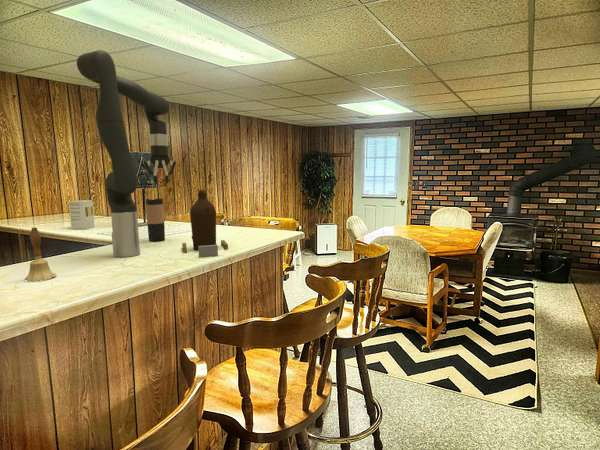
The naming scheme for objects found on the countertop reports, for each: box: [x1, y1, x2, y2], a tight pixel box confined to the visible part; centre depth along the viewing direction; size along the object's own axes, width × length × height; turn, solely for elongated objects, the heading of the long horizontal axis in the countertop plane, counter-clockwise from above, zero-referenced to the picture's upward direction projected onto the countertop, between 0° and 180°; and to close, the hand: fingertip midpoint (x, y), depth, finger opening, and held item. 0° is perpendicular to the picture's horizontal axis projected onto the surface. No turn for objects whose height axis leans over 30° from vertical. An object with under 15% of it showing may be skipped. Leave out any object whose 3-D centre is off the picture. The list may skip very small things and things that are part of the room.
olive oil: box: [189, 189, 217, 251], centre depth 158 cm, size 11×11×25 cm
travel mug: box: [145, 198, 166, 243], centre depth 179 cm, size 8×8×20 cm
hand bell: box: [24, 226, 57, 282], centre depth 116 cm, size 8×8×16 cm
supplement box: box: [68, 199, 96, 230], centre depth 226 cm, size 10×9×17 cm
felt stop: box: [197, 244, 219, 258], centre depth 144 cm, size 7×2×4 cm, turn 109°
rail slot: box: [181, 239, 229, 254], centre depth 159 cm, size 18×12×2 cm, turn 109°
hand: (161, 184), depth 169 cm, fingers open, 3 cm apart
